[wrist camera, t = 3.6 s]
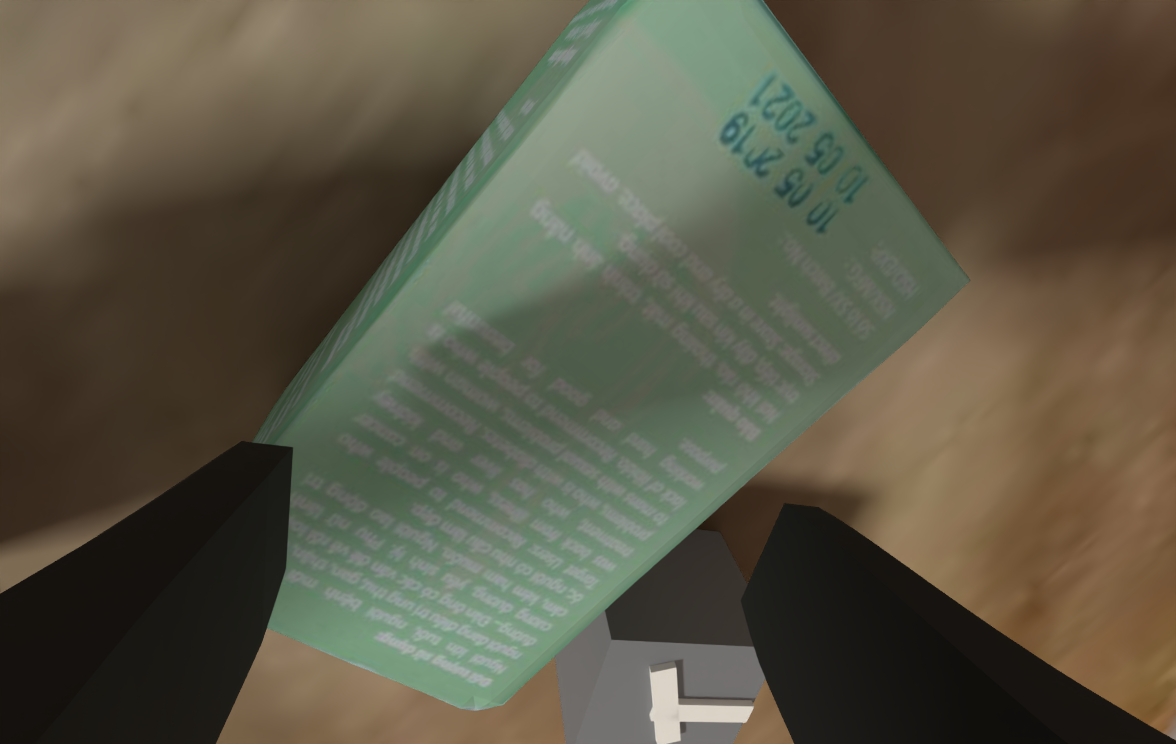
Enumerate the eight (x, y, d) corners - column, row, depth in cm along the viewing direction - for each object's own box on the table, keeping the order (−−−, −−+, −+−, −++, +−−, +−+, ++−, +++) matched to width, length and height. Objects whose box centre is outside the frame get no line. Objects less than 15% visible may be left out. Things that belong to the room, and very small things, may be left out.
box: (271, 400, 17) (135, 611, 10) (596, -20, 14) (707, -112, 7) (483, 520, 20) (486, 745, 13) (789, 197, 17) (996, 275, 10)
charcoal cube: (551, 625, 22) (569, 769, 18) (583, 516, 20) (613, 646, 16) (677, 632, 23) (725, 769, 19) (719, 530, 21) (784, 654, 17)
